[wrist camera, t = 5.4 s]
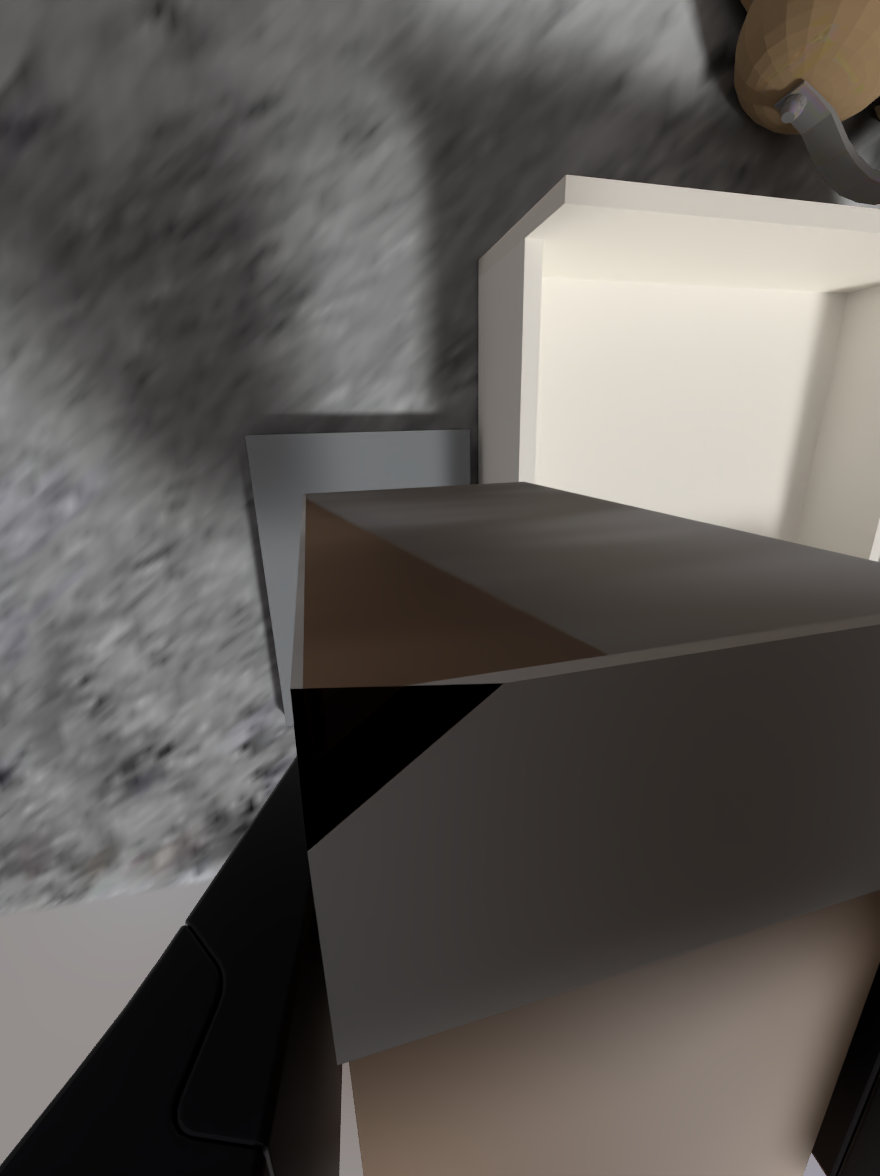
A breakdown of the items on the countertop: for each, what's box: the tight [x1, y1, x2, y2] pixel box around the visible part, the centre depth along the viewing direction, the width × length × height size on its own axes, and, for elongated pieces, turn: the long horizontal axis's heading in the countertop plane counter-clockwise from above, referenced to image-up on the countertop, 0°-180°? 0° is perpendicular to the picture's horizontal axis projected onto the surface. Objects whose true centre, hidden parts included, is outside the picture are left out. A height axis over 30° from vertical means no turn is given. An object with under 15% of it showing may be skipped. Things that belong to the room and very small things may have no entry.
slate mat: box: [245, 429, 470, 726], centre depth 17 cm, size 7×10×1 cm
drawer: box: [478, 175, 880, 562], centre depth 17 cm, size 15×14×6 cm
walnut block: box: [290, 482, 880, 1176], centre depth 7 cm, size 4×8×7 cm, turn 2°
